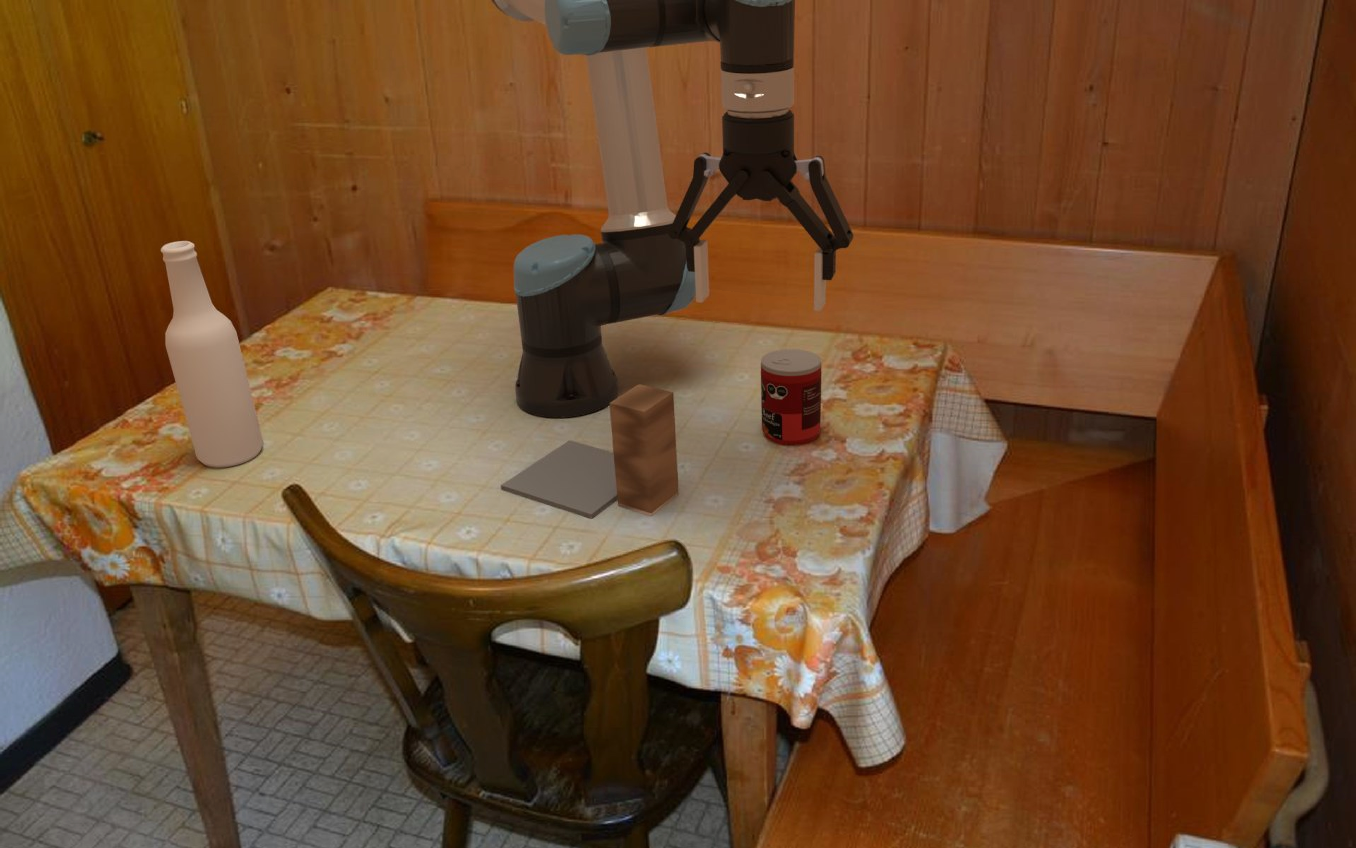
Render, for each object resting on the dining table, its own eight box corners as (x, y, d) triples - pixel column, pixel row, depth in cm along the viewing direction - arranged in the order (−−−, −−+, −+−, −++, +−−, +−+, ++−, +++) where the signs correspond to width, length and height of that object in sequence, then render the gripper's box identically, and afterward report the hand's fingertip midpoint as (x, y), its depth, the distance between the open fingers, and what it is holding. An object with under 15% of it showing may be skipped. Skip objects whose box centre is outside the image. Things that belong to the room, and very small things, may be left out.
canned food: (757, 423, 153) (756, 350, 148) (814, 419, 153) (815, 346, 148) (766, 449, 146) (765, 373, 141) (825, 444, 147) (826, 368, 142)
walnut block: (617, 505, 135) (609, 403, 128) (645, 484, 139) (639, 384, 133) (651, 516, 132) (644, 411, 126) (678, 494, 137) (673, 392, 130)
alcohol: (269, 436, 157) (220, 231, 143) (259, 465, 149) (206, 251, 135) (204, 443, 155) (149, 238, 142) (191, 473, 148) (131, 258, 134)
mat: (501, 489, 140) (500, 485, 139) (569, 444, 150) (569, 440, 150) (591, 518, 132) (591, 514, 132) (657, 468, 143) (657, 464, 142)
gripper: (633, 115, 115) (645, 306, 124) (872, 120, 107) (865, 322, 117) (656, 101, 121) (666, 284, 131) (883, 104, 114) (876, 298, 123)
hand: (760, 302), depth 124 cm, fingers open, 13 cm apart
